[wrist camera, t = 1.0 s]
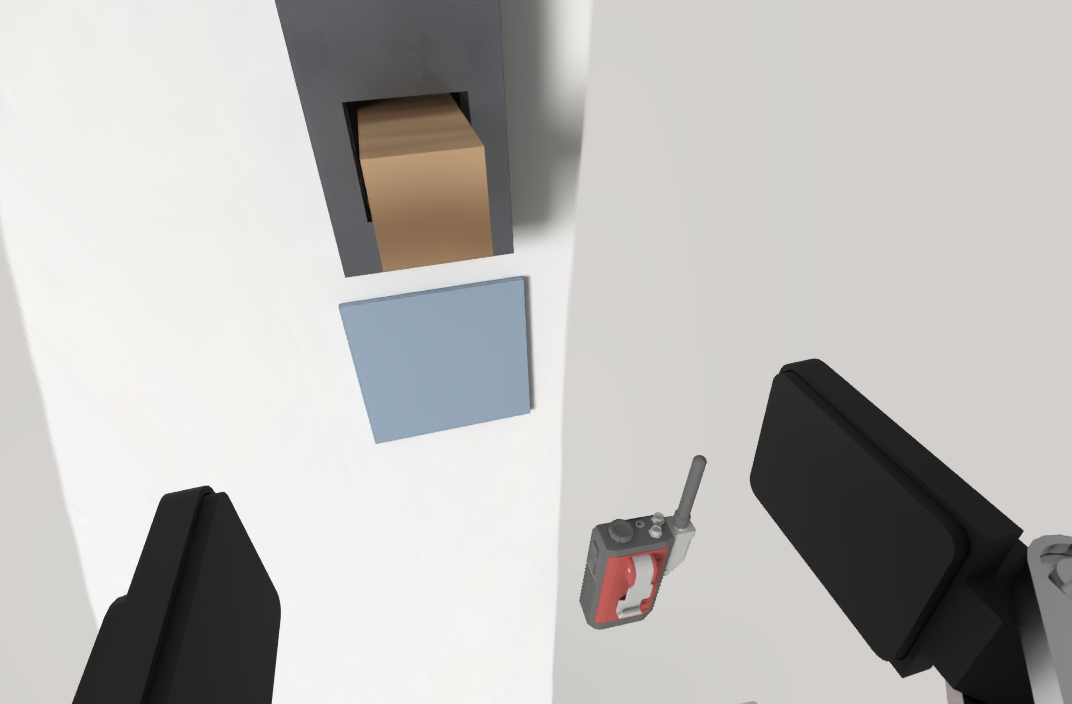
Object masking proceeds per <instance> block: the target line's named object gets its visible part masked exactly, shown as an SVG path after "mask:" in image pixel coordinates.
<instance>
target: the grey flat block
mask: <svg viewBox="0 0 1072 704" xmlns="http://www.w3.org/2000/svg"><path fill="white" fill-rule="evenodd" d="M275 3H276V7H277V11H278V15H279V19H280V23H281V27H282V31H283V34H284V38H285V42H286V46H287V50H288V54H289V58H290V62H291V66H292V70H293V74H294V78H295V82H296V86H297V89H298V93H299V97H300V101H301V105H302V109H303V113H304V117H305V121H306V125H307V129H308V133H309V137H310V141H311V144H312V148H313V152H314V156H315V160H316V164H317V168H318V172H319V176H320V180H321V184H322V188H323V192H324V196H325V200H326V203H327V207H328V211H329V215H330V219H331V223H332V227H333V231H334V235H335V239H336V243H337V247H338V251H339V255H340V258H341V262H342V266H343V270H344V274H345V278H346V277H353V276H360V275H366V274H373V273H380V272H383V268H382V263H381V258H380V253H379V248H378V244H377V239H376V234H375V229H374V225H373V220H372V215H371V210H370V205H369V201H368V198H366V196H365V191H364V187H363V182H362V177H361V173H360V168H359V163H358V158H357V154H356V149H355V144H354V139H353V135H352V130H351V125H350V121H349V116H348V111H347V106H346V102H351V101H362V100H373V99H384V98H395V97H406V96H418V95H429V94H440V93H451V92H459V99H460V109H461V112H462V113H463V115H464V116H465V118H466V119H467V121H468V122H469V124H470V125H471V127H472V128H473V130H474V131H475V133H476V135H477V136H478V138H479V139H480V141H481V142H482V144H483V145H484V150H485V162H486V174H487V187H488V199H489V211H490V223H491V236H492V248H493V256H497V255H504V254H511V253H514V248H513V231H512V214H511V197H510V180H509V163H508V146H507V129H506V112H505V94H504V77H503V60H502V43H501V26H500V9H499V0H275Z"/></svg>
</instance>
